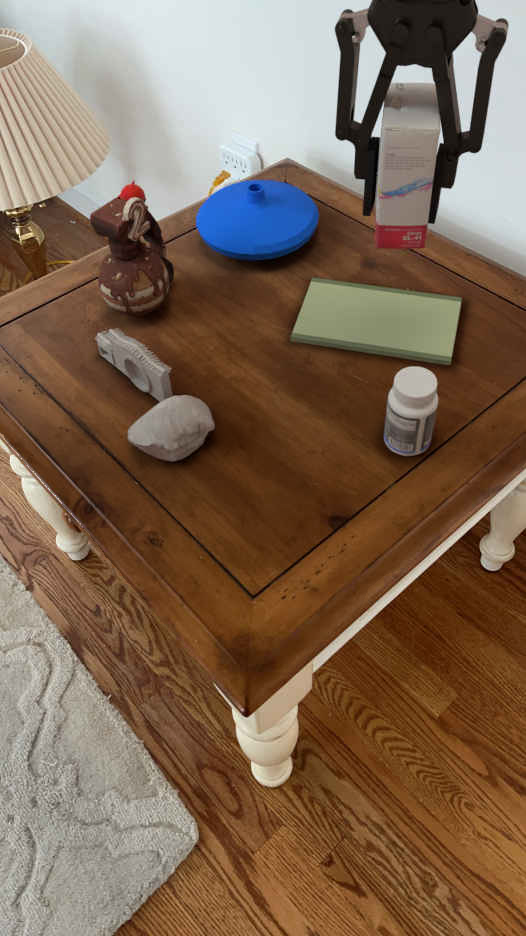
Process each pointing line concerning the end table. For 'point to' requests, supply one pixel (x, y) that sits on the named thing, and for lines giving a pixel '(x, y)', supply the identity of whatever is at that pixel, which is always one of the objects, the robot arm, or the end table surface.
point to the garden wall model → (136, 363)
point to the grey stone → (172, 428)
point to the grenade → (132, 254)
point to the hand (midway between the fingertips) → (400, 211)
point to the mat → (379, 320)
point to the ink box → (406, 165)
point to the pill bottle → (411, 411)
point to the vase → (257, 219)
